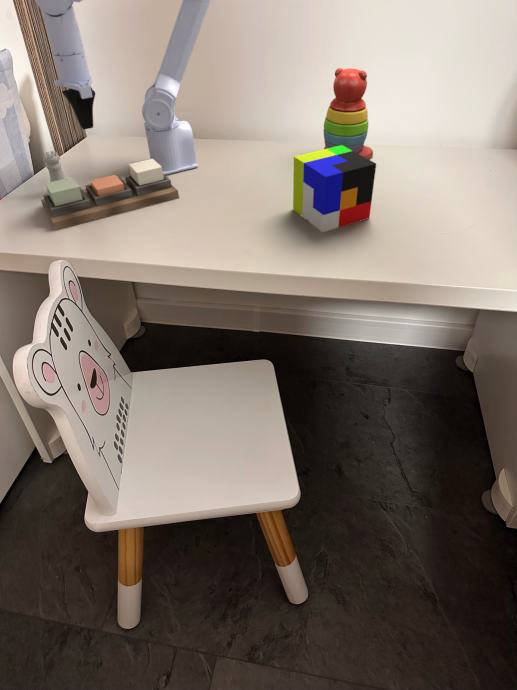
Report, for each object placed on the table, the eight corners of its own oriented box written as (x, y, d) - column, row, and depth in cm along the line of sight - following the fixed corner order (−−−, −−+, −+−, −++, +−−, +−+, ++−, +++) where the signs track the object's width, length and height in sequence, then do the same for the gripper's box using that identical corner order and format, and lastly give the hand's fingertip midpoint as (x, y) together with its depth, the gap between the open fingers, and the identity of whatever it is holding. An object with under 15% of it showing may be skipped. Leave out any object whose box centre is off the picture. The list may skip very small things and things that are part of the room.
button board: (158, 178, 105) (156, 164, 103) (179, 197, 98) (176, 183, 96) (43, 206, 97) (38, 192, 95) (55, 230, 90) (50, 215, 88)
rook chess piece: (66, 198, 99) (54, 158, 94) (46, 196, 100) (33, 157, 95) (77, 188, 103) (66, 149, 97) (57, 187, 103) (45, 148, 98)
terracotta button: (118, 186, 99) (115, 174, 97) (126, 196, 96) (123, 183, 94) (93, 192, 97) (90, 180, 95) (100, 202, 94) (97, 189, 92)
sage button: (76, 189, 95) (72, 177, 93) (82, 199, 92) (79, 186, 90) (49, 196, 93) (45, 183, 92) (55, 206, 90) (51, 193, 88)
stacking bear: (375, 154, 112) (387, 65, 100) (357, 170, 105) (366, 77, 93) (332, 146, 116) (337, 60, 104) (311, 161, 110) (315, 71, 98)
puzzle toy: (322, 232, 86) (325, 176, 80) (293, 209, 93) (293, 156, 86) (369, 218, 89) (376, 163, 83) (337, 197, 96) (341, 145, 90)
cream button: (154, 170, 101) (152, 158, 99) (163, 179, 97) (161, 167, 96) (131, 176, 99) (128, 164, 97) (139, 185, 96) (137, 172, 94)
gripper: (39, 48, 97) (59, 121, 106) (55, 63, 87) (76, 142, 96) (75, 43, 99) (92, 115, 108) (95, 57, 90) (112, 134, 99)
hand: (87, 127), depth 102 cm, fingers closed
